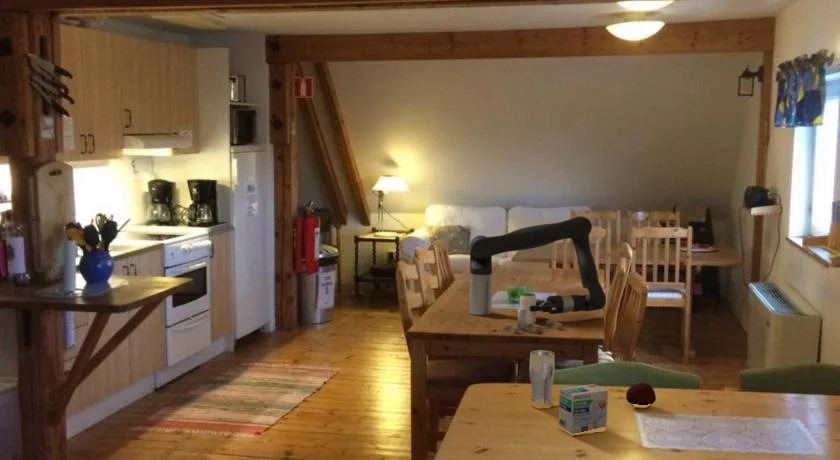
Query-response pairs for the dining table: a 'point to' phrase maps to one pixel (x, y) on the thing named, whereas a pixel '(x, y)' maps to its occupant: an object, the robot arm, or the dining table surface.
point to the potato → (641, 394)
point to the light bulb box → (582, 408)
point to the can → (528, 306)
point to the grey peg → (522, 319)
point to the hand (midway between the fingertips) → (525, 306)
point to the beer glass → (541, 375)
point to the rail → (534, 327)
